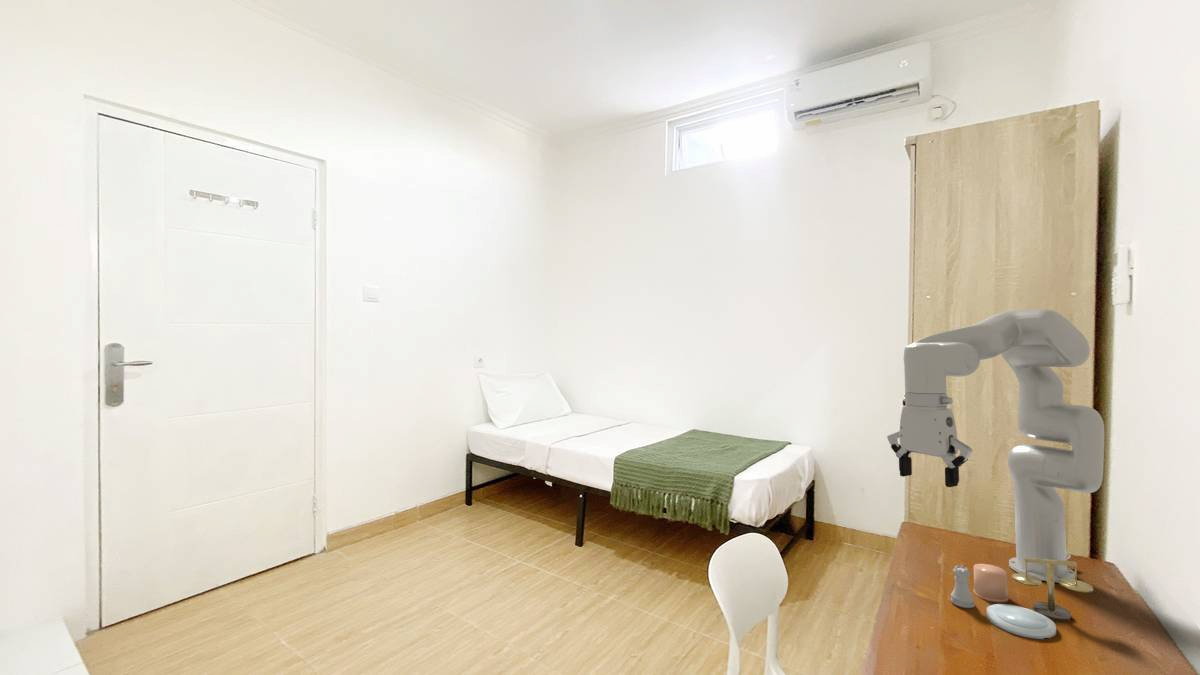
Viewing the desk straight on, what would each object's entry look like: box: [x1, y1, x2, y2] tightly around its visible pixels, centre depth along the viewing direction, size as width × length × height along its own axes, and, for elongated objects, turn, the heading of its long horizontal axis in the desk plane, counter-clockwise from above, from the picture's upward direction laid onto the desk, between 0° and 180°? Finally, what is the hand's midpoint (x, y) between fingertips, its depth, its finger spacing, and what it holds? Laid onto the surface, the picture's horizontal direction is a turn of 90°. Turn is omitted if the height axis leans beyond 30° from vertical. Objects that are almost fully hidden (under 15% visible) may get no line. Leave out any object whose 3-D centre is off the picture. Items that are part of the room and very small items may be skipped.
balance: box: [1011, 558, 1094, 622], centre depth 107 cm, size 6×14×12 cm, turn 25°
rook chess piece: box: [950, 565, 976, 609], centre depth 112 cm, size 4×4×8 cm
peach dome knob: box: [972, 563, 1010, 604], centre depth 116 cm, size 6×6×6 cm
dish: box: [986, 603, 1057, 640], centre depth 104 cm, size 11×11×1 cm
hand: (927, 480), depth 108 cm, fingers open, 9 cm apart
